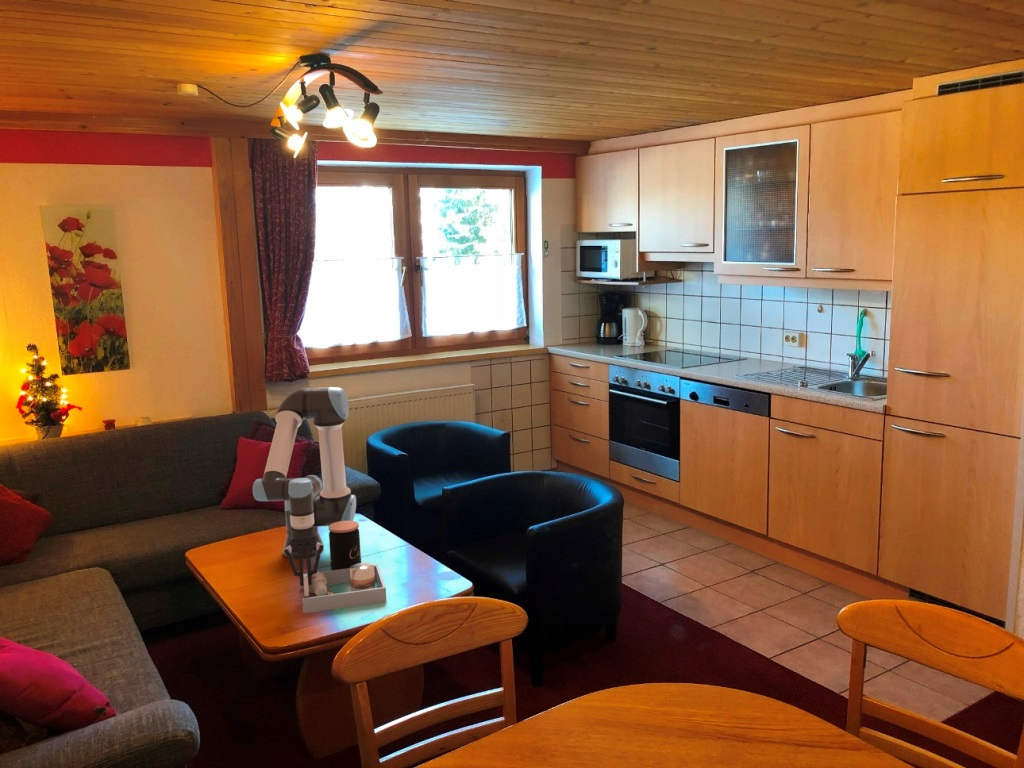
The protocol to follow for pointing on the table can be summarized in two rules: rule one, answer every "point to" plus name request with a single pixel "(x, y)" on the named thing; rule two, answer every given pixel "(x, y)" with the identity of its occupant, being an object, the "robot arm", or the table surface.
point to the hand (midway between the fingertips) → (306, 594)
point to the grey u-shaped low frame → (348, 597)
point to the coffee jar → (344, 544)
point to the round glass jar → (362, 576)
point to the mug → (319, 585)
